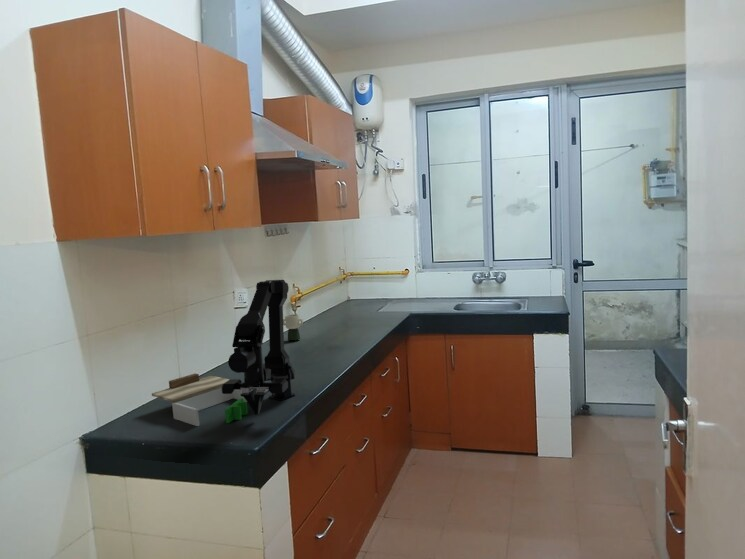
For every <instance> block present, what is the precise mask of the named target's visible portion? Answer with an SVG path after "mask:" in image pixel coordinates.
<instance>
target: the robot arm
mask: <svg viewBox="0 0 745 559" xmlns="http://www.w3.org/2000/svg"><path fill="white" fill-rule="evenodd" d="M255 288H256V290H255V293H254V295H253V298H252V300H251V303H250V305H249V308H248V311H247V313H246V314H244V315H243V316H242V317H240V319H239V321H238V323H237V325H236V326H235V330H234V336H233V340H232V346H231V347H232V348H233V353H231V355H229V357H228V361H227V362H228V367H229V369H230V370H231V371H233V372H234V373H237V374H238V373H239V374H240V373H243V378H244V382H242V379H237V378H236V379H232V378H230V380H228V381H227V382H225V383H224V384H223V385H222V394H232V393H233V391H234V389H241V393H242V394H240V395H241V396H243V397H244V398H245V399H246V401H247V404H248V405H249V406H250V409H252V411H253V413H254V415H256V416H257V415H260V412H261V407H262V405H263V401H264V398H265V396H266V395H267V394H268V393H271V395H268V398H269V399H273V400H277V401H284V400H287V399H289V398H292V397H294V396H296V393H294V392H292V382H291V381H292V380H295V378H296V377H295V375H296V373H295V372H296V371H295V369H294V367H293V365H292V363H291V361H290V356H289V355H288V353H287V351H286V350H285V341H284V340H285V338H284V332H285V331H284V325H283V319H284V305H285V303H286V302H287V299H288V293H289V288H290V287H289V283H288V282H286V280H284V279H269V280H267V279H266V280H265V281H258V282H256V286H255ZM267 309H268V334H269V335H268V337H269V340H268V342H269V351H268V353H267V355H266V356H264V358H263V350H262V349H263V348H262V345H263V344H264V343H263V342H264V341H263V340H264V336H265V333H266V328H265V324H264V317H265V315H266V311H267ZM263 360H264V361H263ZM269 381H270V382H269ZM256 391H257V393H256Z"/></svg>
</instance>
